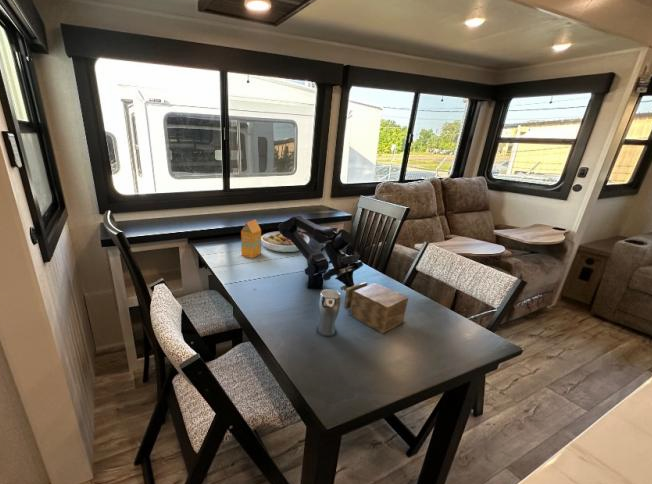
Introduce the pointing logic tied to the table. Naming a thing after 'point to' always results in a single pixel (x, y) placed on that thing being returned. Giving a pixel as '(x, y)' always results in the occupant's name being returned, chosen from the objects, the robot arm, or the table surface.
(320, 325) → the beer glass
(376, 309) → the wooden box
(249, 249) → the orange juice
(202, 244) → the table surface
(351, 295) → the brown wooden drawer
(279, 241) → the bowl
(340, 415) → the table surface
